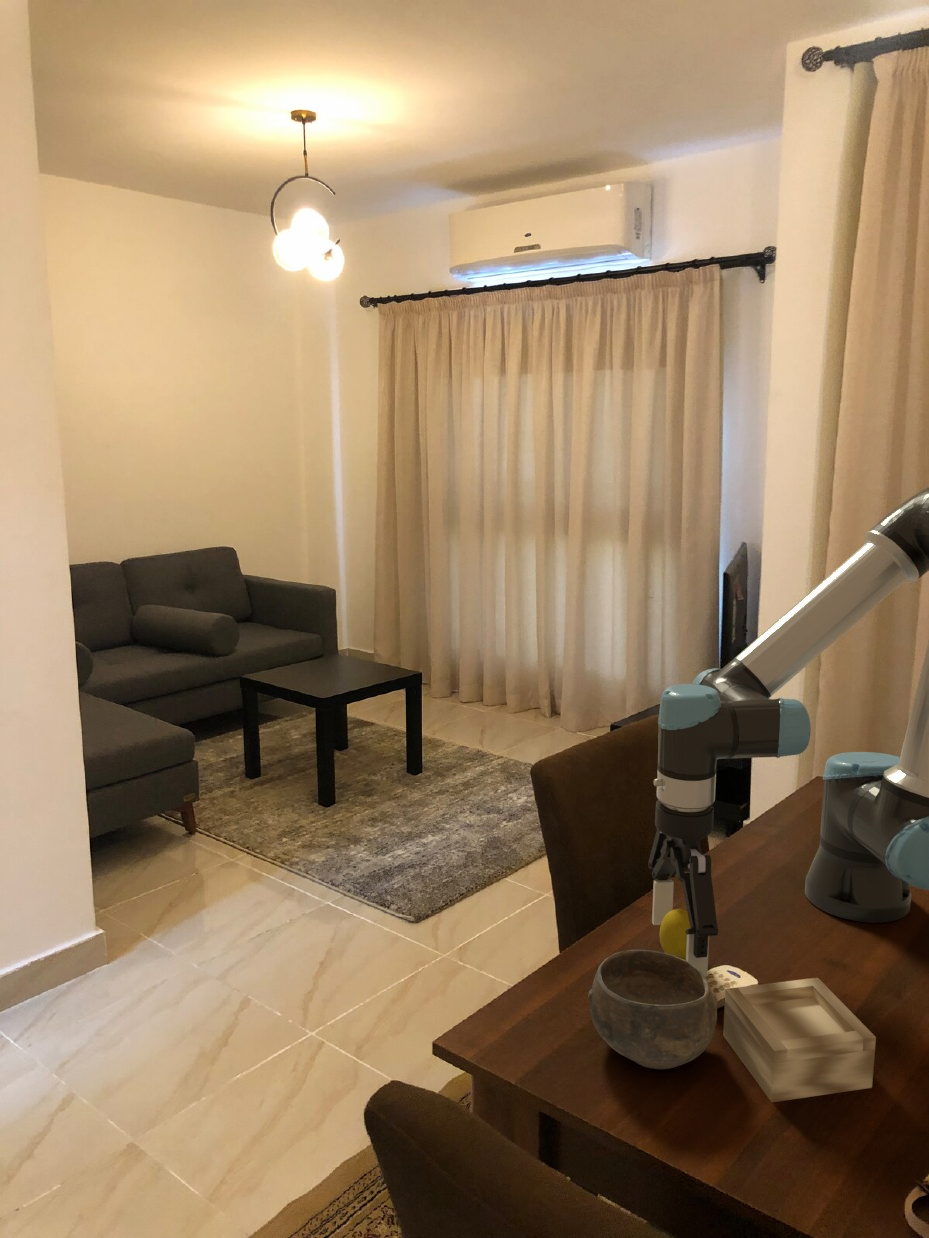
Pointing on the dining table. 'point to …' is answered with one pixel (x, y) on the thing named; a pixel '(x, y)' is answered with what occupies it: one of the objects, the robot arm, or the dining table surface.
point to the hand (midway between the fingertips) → (678, 948)
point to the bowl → (653, 1008)
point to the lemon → (675, 933)
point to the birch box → (798, 1039)
